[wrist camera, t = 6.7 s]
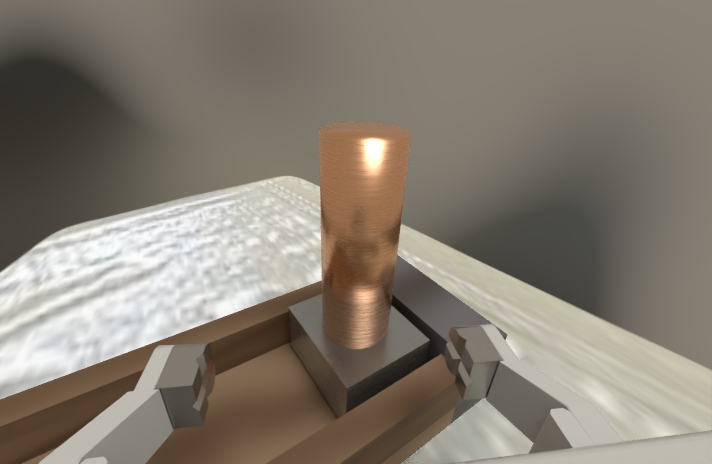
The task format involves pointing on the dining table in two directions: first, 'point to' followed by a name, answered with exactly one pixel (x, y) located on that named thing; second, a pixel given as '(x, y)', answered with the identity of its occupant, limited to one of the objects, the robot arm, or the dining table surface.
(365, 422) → the track
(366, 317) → the slider
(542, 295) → the dining table surface
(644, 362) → the dining table surface
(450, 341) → the robot arm
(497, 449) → the dining table surface
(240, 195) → the dining table surface
